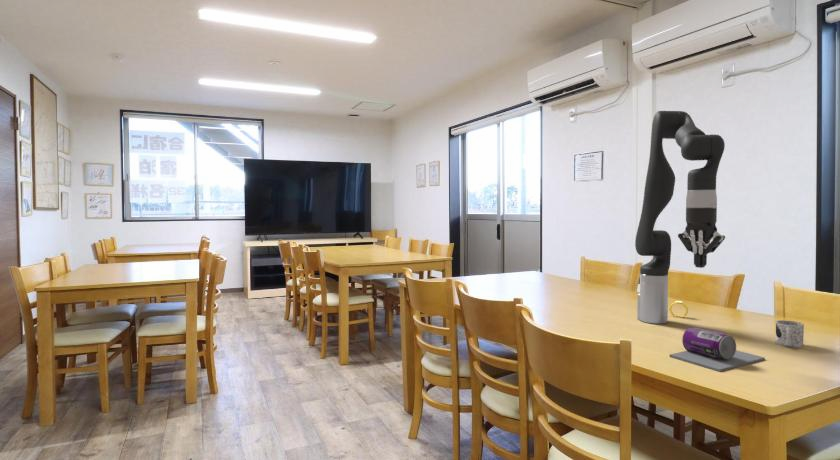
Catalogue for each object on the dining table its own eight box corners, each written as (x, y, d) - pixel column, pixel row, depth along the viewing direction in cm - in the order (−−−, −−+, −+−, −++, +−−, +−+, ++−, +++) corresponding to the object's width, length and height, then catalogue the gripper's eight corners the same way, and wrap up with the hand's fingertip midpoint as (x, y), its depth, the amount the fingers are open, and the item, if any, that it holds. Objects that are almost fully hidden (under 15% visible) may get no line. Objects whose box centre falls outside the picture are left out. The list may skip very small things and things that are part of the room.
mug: (776, 340, 150) (776, 319, 150) (803, 344, 146) (803, 322, 145) (774, 347, 142) (774, 325, 142) (802, 352, 138) (803, 329, 138)
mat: (669, 356, 135) (669, 354, 135) (714, 346, 144) (714, 344, 144) (719, 371, 123) (719, 369, 123) (764, 359, 132) (764, 357, 132)
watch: (687, 317, 182) (689, 302, 181) (686, 319, 180) (687, 303, 179) (670, 314, 185) (671, 299, 185) (668, 316, 183) (670, 300, 183)
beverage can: (679, 351, 139) (718, 361, 127) (680, 326, 139) (719, 334, 128) (697, 350, 141) (737, 360, 130) (698, 326, 141) (738, 334, 130)
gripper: (671, 206, 140) (670, 265, 141) (716, 206, 128) (714, 271, 129) (687, 206, 143) (686, 264, 144) (733, 206, 132) (732, 269, 132)
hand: (700, 267), depth 137 cm, fingers closed
